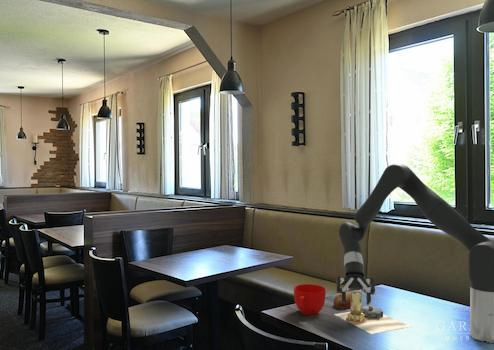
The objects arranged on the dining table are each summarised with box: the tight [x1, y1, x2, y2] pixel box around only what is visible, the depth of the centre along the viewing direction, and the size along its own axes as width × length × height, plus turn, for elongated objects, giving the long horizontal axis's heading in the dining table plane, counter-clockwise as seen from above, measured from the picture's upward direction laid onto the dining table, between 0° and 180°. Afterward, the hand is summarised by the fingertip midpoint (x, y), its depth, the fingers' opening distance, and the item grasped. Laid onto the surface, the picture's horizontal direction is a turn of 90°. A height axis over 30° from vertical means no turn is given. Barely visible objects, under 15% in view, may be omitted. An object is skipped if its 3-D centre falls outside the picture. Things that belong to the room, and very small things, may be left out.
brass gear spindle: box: [348, 291, 364, 322], centre depth 165 cm, size 6×6×10 cm
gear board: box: [333, 304, 412, 335], centre depth 165 cm, size 22×18×5 cm
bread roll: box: [333, 291, 351, 310], centre depth 186 cm, size 10×10×8 cm
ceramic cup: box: [293, 283, 327, 316], centre depth 176 cm, size 13×17×10 cm
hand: (356, 303), depth 164 cm, fingers open, 8 cm apart
